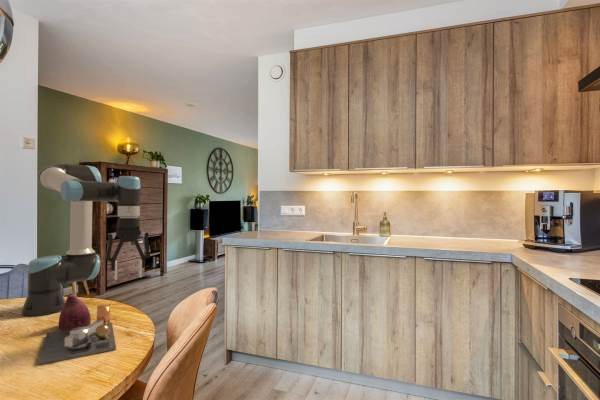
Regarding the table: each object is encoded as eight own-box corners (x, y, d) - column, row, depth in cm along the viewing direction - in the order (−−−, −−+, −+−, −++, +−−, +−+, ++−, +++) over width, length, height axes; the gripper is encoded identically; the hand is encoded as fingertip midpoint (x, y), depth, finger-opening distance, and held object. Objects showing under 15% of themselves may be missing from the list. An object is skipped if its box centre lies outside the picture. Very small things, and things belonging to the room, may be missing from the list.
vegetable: (75, 339, 125) (71, 304, 121) (52, 333, 127) (47, 298, 123) (97, 323, 135) (94, 289, 131) (76, 317, 137) (72, 284, 133)
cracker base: (47, 336, 120) (47, 315, 120) (111, 325, 131) (111, 306, 131) (38, 365, 99) (38, 339, 99) (115, 349, 109) (116, 326, 109)
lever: (77, 348, 104) (77, 326, 104) (59, 348, 104) (60, 326, 104) (113, 323, 125) (113, 304, 125) (99, 323, 125) (99, 304, 125)
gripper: (97, 218, 119) (96, 283, 119) (159, 217, 130) (159, 276, 130) (97, 217, 125) (96, 279, 125) (156, 216, 136) (155, 273, 136)
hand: (128, 277), depth 128 cm, fingers open, 8 cm apart
